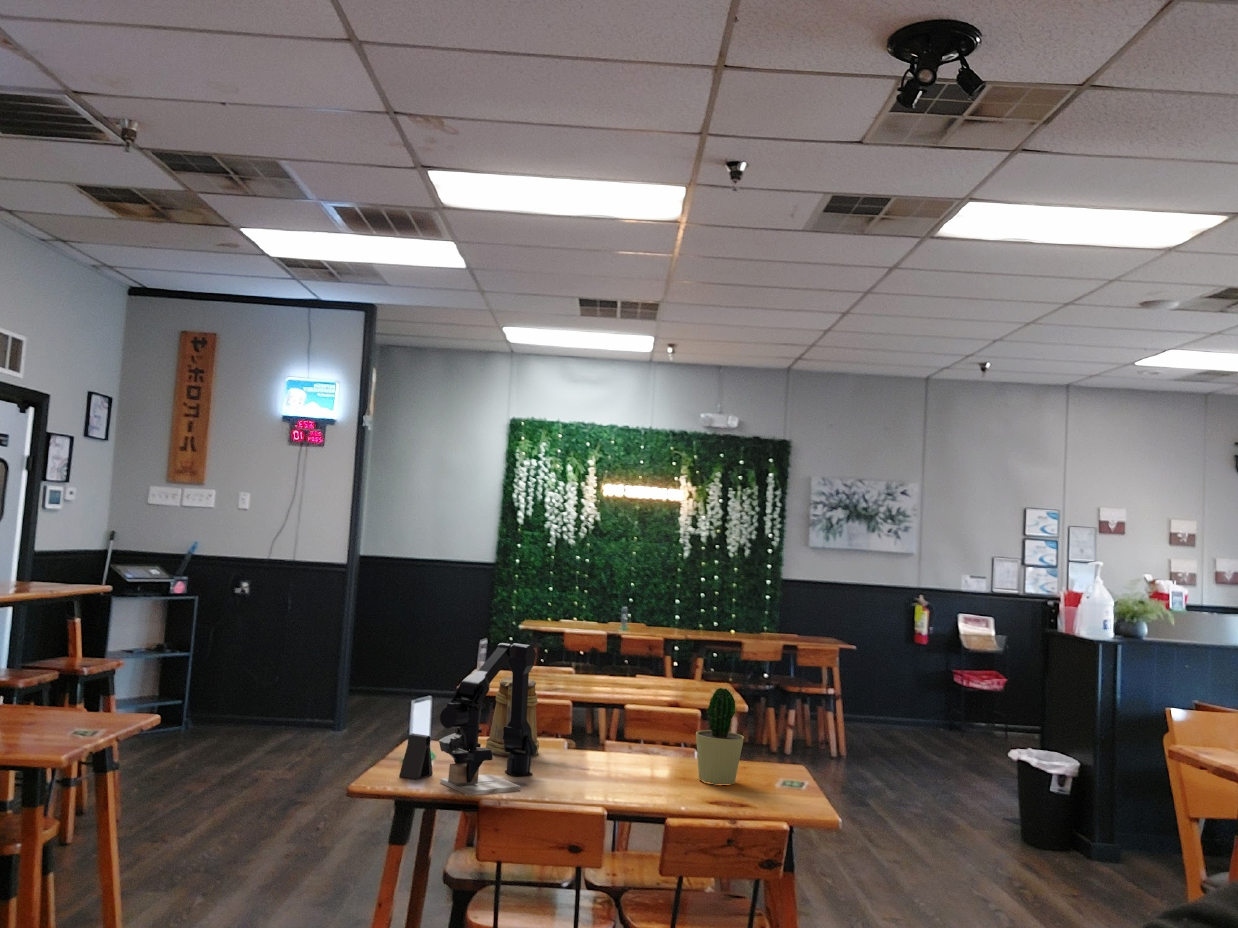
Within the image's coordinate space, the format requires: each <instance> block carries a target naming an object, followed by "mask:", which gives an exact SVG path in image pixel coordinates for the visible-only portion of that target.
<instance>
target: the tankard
mask: <svg viewBox="0 0 1238 928" xmlns="http://www.w3.org/2000/svg"><path fill="white" fill-rule="evenodd" d="M536 685H537V682H536V681H535V680H534V679H533V678H530V677H529V680H528V703H527V722H528V724H529V725H530V727H531V730H532V739H533V741H534V743H535V745H536V746H537V751H536V754H535V755H534V756H536V755H537V754H538V753H539V749H540V745H539V743H540V742H539V741H540V740H538V732H537V729H538V728H537V708H536V707H537V705H538V693H537V692H536ZM511 699H512V676H507V677H504V678H502V679H500V680H499V688H498V690H497V691H496V694H495V701H496V702H495V708H494V713H493V716H492V724H491V726H490V730H489V731H490V732H489V736H488V738H486V744H485V748H487V749H489V750H491V751H492V752H493V756H500V757H508V758H509V752H505V748H504V740H503V735H504V731H503V729H504V727H505V726H507V725H508V723H509V722H510V720H511Z"/></svg>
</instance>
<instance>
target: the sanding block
mask: <svg viewBox="0 0 1238 928" xmlns="http://www.w3.org/2000/svg"><path fill="white" fill-rule="evenodd" d="M448 767H449V768H448V777H447V778H448V782H449V783H452V784H454V785H467V784H478V775H479V771H480V768H479V769H478V770H477V772H476V774H475V776H474V777H473V779H472V781H471V782H469V783H468V782H467V764H466V763H457V764H455V763H450V764H449V766H448Z"/></svg>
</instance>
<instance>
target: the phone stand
mask: <svg viewBox="0 0 1238 928" xmlns="http://www.w3.org/2000/svg"><path fill="white" fill-rule="evenodd" d="M431 741H432V739H431V736H430V735H426V734H424V735H423V734H419V733H412V732H411V733H409V735H408V737H407V745H406V749H405V752H404V753H405V754H404V757H403V760H402V764H401V768H400V771H399V775H398V777H399V778H402V779H407V780H408V779H409V780H415V781H419V780H422V779H425V778H428V777H431V776H433V775H434V773H433V764H432V752H431V751H432V750H431Z"/></svg>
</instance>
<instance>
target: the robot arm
mask: <svg viewBox="0 0 1238 928" xmlns="http://www.w3.org/2000/svg"><path fill="white" fill-rule="evenodd" d="M536 656H537V651H536V648H534V646H533V645H531V644H522V643H516V642H514V643H507V642H506V643H505V642H500V643H499V644H497V645H496V649H495V650H494V651H493V653H492V654H491V655H490V656H489V657H488V658H487V659H486V661H484V663H482V666H481V667H480V668H479V669H478V670H477V671H476V672H474V673H471V674H469V675H467V676H466V677H465V678H464V679H463V680H462V681H461V682H460V683H459V685H458V687H457V689H456V691H455V692H454V694H453V696H452V698H451V700H450V702H448V703H446V707H445V708H443V709H442V710H441V713H440V714H439V721H440V724H441V725H442V726H443V728H446V729H453V728H455V729H454V733H452V734H449V735H446V736H444V737H442V738H440V739H439V740H438V743H439V746H440V747H439V748H440V751H441V752H444V753H445V754H448V755H450V756H451V758H452V759H453V760H454V761H453V762H454V764H457V763H466V764H467V782H468V783H469V782H471V781H472V779H473V777H474V776H475V774H476V772H477V770H478V769H479V770H480V767H481V766H482V764H483V762H485V761H493V759H494V754H493V752H492V751H491V750H489V749H487V748H486V747H481V745H482V744H481V743H480V742H479V737H480V736H479V735H480V734H481V733H483V729H482V728H480V725H481V724H480V723H481V722H480V721H481V715H482V714H481V713H482V712H481V711H482V709H485V708H486V705H485V703H484V702H483V701H484V700H485V698H486V697H487V695H488V693H489V691H490V684H491V683H492V681H493V680H494V679H495V677H496V676H497V675H498V674H499V673H500V671H502V669H503V667H504V666H505V665H506V664H508V667H509V669H510V671H511V673H512V676H511V677H512V699H511V720H510V722H509V723H508V725H507V726H505V727H504V729H503V731H504V735H503V740H504V748H505V752H509V757H508V758H507V762H506V770H504V773H507V774H509V775H512V776H514V777H524V776H525V777H526V776H533V775H534V773H533V772H531V762H532V757H534V756H536V755H537V754H536V751H537V746H536V745H535V743H534V741H533V739H532V730H531V727H530V725H529V724H528V722H527V703H528V680H529V678H530V672H531V671H532V669H533V668H534V666H535V662H536ZM535 754H536V755H535Z"/></svg>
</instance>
